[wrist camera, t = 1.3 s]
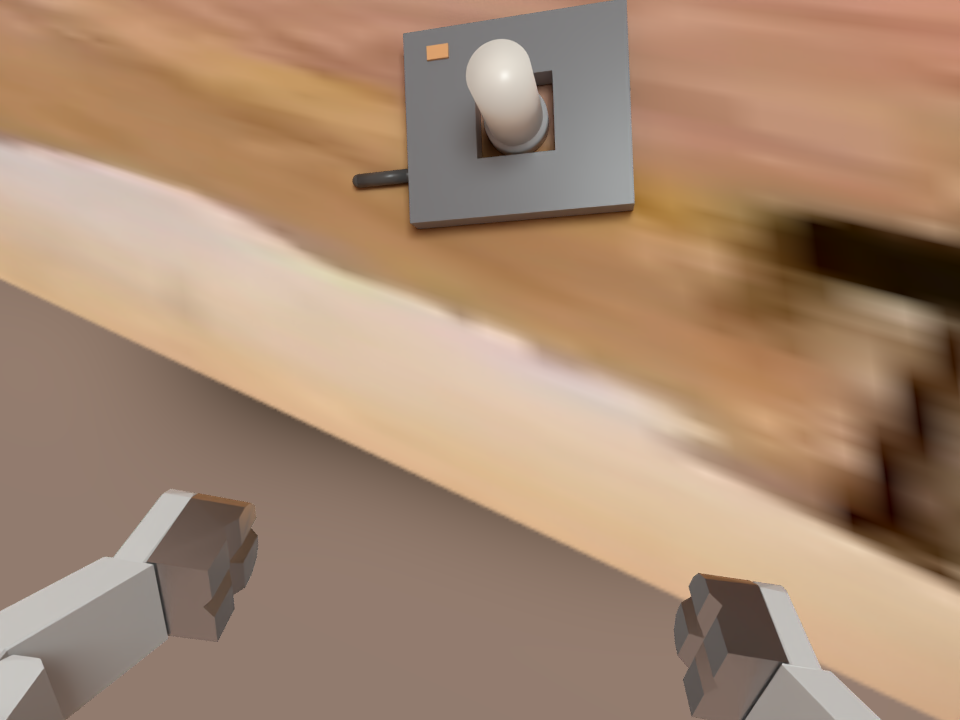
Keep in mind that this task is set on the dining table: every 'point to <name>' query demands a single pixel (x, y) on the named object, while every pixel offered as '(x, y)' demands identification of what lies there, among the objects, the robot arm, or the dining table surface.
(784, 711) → the robot arm
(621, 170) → the grey square frame
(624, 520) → the dining table surface
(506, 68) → the white rounded cylinder
